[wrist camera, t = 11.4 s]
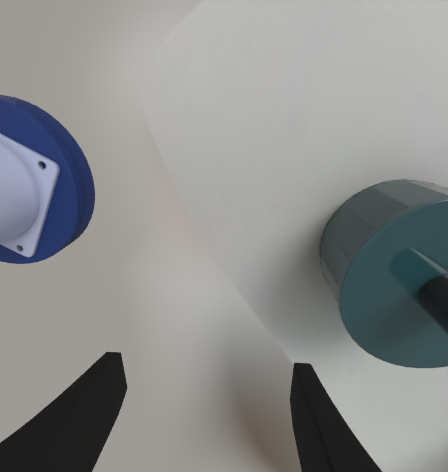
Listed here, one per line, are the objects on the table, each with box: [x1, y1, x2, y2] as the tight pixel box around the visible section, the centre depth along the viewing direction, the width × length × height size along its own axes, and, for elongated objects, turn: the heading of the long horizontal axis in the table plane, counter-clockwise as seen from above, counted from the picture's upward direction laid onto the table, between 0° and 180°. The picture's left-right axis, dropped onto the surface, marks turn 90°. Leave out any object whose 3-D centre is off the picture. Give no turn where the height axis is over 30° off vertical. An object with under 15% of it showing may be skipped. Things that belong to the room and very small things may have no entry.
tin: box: [319, 180, 448, 303], centre depth 17 cm, size 10×10×5 cm
